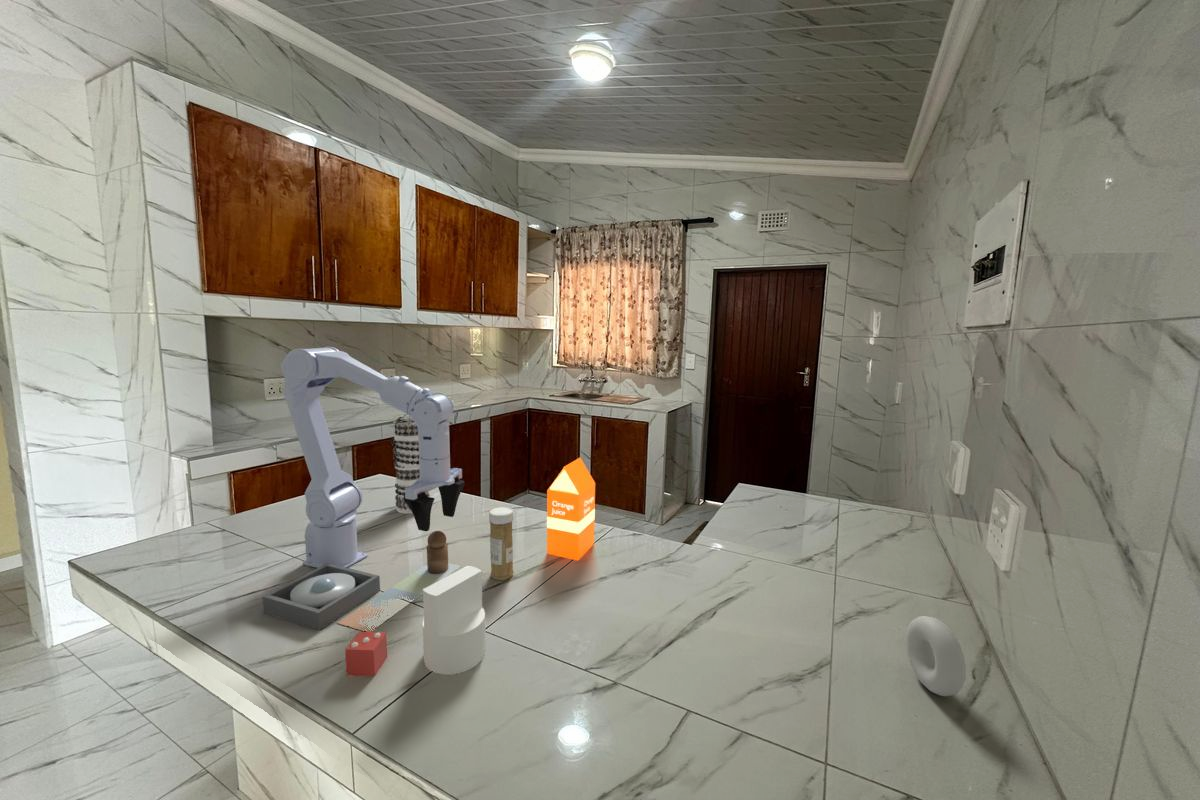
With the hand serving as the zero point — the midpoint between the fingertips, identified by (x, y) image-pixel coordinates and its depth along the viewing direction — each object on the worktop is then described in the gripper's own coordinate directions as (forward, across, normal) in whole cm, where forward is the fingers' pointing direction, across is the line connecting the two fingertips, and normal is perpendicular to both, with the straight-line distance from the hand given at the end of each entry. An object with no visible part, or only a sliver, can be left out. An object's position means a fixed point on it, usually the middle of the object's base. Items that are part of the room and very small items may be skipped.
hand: (436, 522), depth 98 cm
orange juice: (+10, +19, -21) cm, 30 cm away
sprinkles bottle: (+10, +3, -13) cm, 17 cm away
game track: (+10, -9, 0) cm, 13 cm away
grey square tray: (+10, -17, +11) cm, 23 cm away
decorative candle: (+10, +25, +28) cm, 39 cm away
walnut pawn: (+10, 0, 0) cm, 10 cm away
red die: (+10, -27, -9) cm, 30 cm away
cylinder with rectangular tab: (+10, -20, -19) cm, 29 cm away
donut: (+10, -1, -85) cm, 86 cm away
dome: (+10, -17, +11) cm, 22 cm away
